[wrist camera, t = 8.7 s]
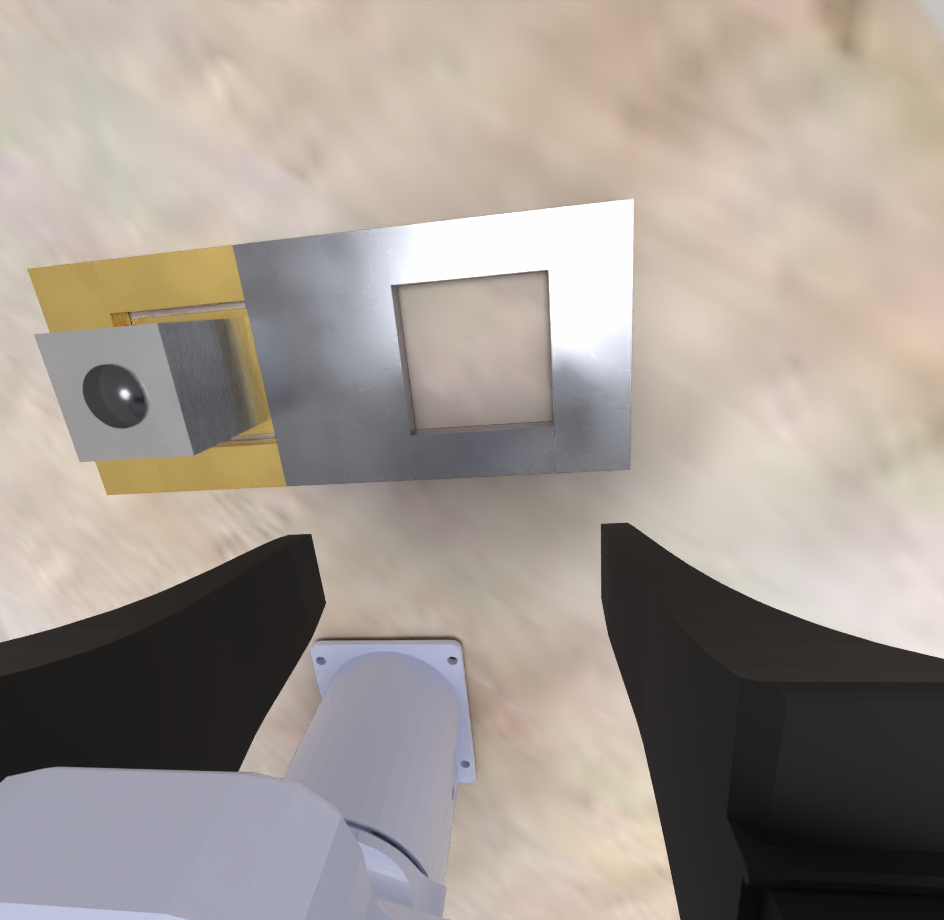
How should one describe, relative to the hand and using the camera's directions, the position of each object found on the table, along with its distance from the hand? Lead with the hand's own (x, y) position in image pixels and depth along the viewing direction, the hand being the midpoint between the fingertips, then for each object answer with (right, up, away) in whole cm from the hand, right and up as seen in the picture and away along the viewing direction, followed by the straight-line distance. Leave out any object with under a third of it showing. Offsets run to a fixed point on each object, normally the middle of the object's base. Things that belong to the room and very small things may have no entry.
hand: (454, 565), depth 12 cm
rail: (-5, +7, +9) cm, 12 cm away
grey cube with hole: (-11, +6, +9) cm, 16 cm away
